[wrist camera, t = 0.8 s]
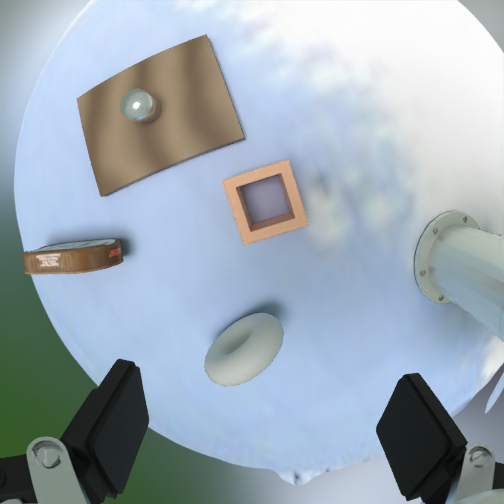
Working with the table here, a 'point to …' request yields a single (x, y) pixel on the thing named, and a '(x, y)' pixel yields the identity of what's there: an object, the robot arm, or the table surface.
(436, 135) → the table surface
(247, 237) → the hollow square tube
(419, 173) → the table surface
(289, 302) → the table surface
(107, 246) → the tin
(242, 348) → the donut
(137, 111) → the domed metal cylinder
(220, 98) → the board
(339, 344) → the table surface
